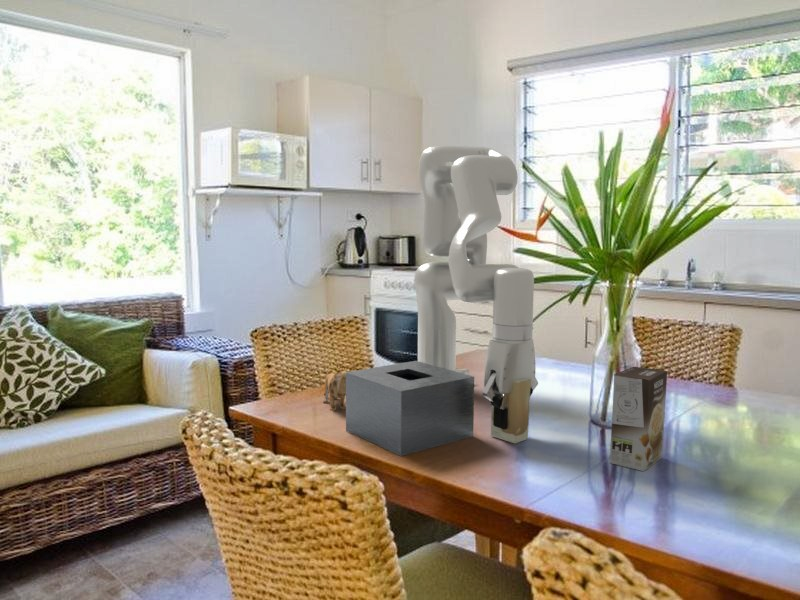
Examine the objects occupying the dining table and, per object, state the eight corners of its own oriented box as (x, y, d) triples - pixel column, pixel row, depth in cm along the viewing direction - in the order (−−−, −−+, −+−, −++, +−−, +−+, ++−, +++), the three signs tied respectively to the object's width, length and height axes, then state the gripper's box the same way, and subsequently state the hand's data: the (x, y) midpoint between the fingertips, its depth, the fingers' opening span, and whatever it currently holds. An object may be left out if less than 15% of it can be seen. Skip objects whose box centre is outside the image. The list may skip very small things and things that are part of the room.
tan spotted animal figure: (358, 412, 148) (358, 372, 147) (335, 415, 146) (335, 374, 145) (334, 396, 161) (333, 359, 160) (313, 398, 159) (312, 361, 158)
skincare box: (489, 436, 132) (490, 375, 130) (503, 431, 135) (504, 372, 133) (516, 444, 127) (518, 381, 126) (529, 439, 130) (531, 377, 129)
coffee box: (645, 472, 114) (650, 380, 112) (608, 463, 118) (612, 374, 116) (663, 457, 121) (668, 370, 119) (628, 449, 125) (632, 365, 123)
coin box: (415, 414, 146) (415, 360, 145) (473, 436, 132) (474, 376, 130) (346, 430, 135) (345, 372, 134) (401, 456, 121) (401, 391, 119)
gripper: (527, 325, 137) (524, 412, 139) (466, 334, 126) (464, 428, 129) (556, 330, 131) (553, 421, 133) (495, 340, 120) (493, 438, 123)
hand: (510, 423), depth 131 cm, fingers closed on skincare box, 4 cm apart
